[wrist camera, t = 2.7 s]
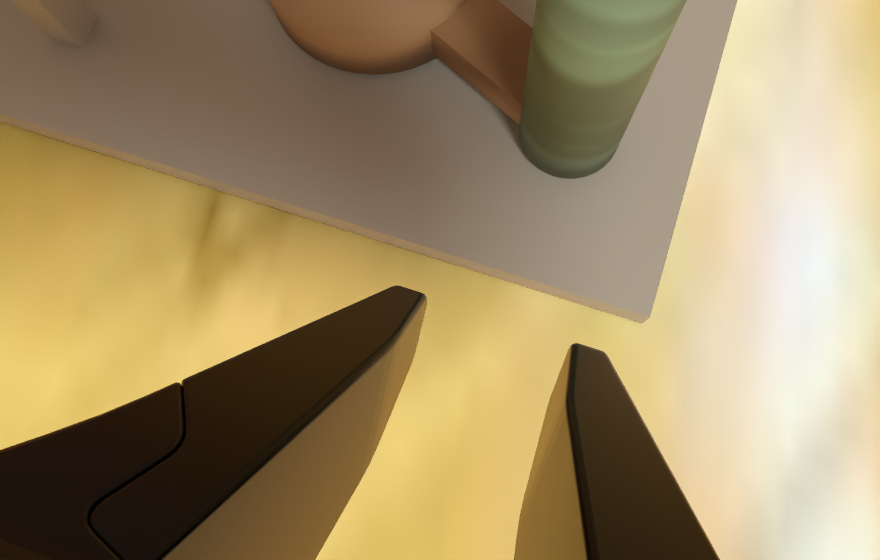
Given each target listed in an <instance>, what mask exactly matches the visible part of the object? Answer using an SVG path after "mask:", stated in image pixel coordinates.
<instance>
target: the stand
mask: <svg viewBox="0 0 880 560" xmlns="http://www.w3.org/2000/svg"><path fill="white" fill-rule="evenodd" d="M498 1H499V2H500V3H501V4H503V5H504V6H505V7H507V8H508V9H509V10H510V11H512V12H513V13H514V14H515V15H517V16H518V17H519V18H520V19H522V20H523V21H524V22H525V23H527V24H528V25H529V26H530V27H532V28H533V23H534V16H535V9H536V2H537V0H498ZM736 3H737V0H687V1H686V3H685V5H684V7H683V9H682V11H681V14H680V16H679V18H678V20H677V22H676V24H675V26H674V29H673V31H672V33H671V35H670V37H669V39H668V41H667V43H666V46H665V48H664V50H663V52H662V54H661V56H660V58H659V60H658V63H657V65H656V67H655V69H654V71H653V73H652V75H651V78H650V80H649V82H648V84H647V86H646V88H645V90H644V92H643V95H642V97H641V99H640V101H639V103H638V105H637V107H636V109H635V112H634V114H633V116H632V118H631V120H630V122H629V124H628V127H627V129H626V131H625V133H624V135H623V137H622V139H621V141H620V144H619V146H618V148H617V150H616V152H615V154H614V156H613V157H612V159H611V160H610V161H609V162H608V163H607V164H606V165H605V166H604V167H603V168H602V169H600V170H599V171H597V172H595V173H594V174H591V175H589V176H586V177H582V178H576V179H565V178H559V177H554V176H552V175H549V174H547V173H545V172H543V171H541V170H540V169H538V168H537V167H536V166H535V165H533V164H532V163H531V162H530V160H529V159H528V158H527V157H526V155H525V154H524V152H523V149H522V147H521V144H520V141H519V131H518V129H519V124H517V123H516V122H515V121H514V120H513V119H511V118H510V117H509V116H508V115H507V114H505V113H504V112H503V111H502V110H501V109H499V108H498V107H497V106H496V105H495V104H493V103H492V102H491V101H490V100H489V99H487V98H486V97H485V96H484V95H483V94H481V93H480V92H479V91H478V90H477V89H475V88H474V87H473V86H472V85H471V84H469V83H468V82H467V81H466V80H465V79H463V78H462V77H461V76H460V75H459V74H457V73H456V72H455V71H454V70H453V69H451V68H450V67H449V66H448V65H447V64H445V63H444V62H443V61H442V60H441V59H440V58H438V57H437V58H436V59H434V60H432V61H430V62H428V63H426V64H423V65H421V66H418V67H416V68H413V69H409V70H406V71H402V72H397V73H390V74H374V75H369V74H359V73H352V72H348V71H343V70H340V69H337V68H334V67H331V66H328V65H326V64H324V63H322V62H320V61H318V60H316V59H315V58H313V57H312V56H310V55H309V54H307V53H306V52H305V51H303V50H302V49H301V48H300V47H299V46H298V45H297V44H296V43H295V42H294V41H293V40H292V39H291V38H290V36H289V35H288V34H287V33H286V31H285V30H284V28H283V26H282V25H281V23H280V21H279V19H278V17H277V14H276V12H275V10H274V7H273V5H272V3H271V1H270V0H0V122H3V123H6V124H9V125H13V126H16V127H19V128H22V129H25V130H29V131H32V132H35V133H38V134H41V135H44V136H48V137H51V138H54V139H57V140H60V141H64V142H67V143H70V144H73V145H76V146H79V147H83V148H86V149H89V150H92V151H95V152H98V153H102V154H105V155H108V156H111V157H114V158H118V159H121V160H124V161H127V162H130V163H133V164H137V165H140V166H143V167H146V168H149V169H153V170H156V171H159V172H162V173H165V174H168V175H172V176H175V177H178V178H181V179H184V180H188V181H191V182H194V183H197V184H200V185H203V186H207V187H210V188H213V189H216V190H219V191H223V192H226V193H229V194H232V195H235V196H238V197H242V198H245V199H248V200H251V201H254V202H257V203H261V204H264V205H267V206H270V207H273V208H277V209H280V210H283V211H286V212H289V213H292V214H296V215H299V216H302V217H305V218H308V219H312V220H315V221H318V222H321V223H324V224H327V225H331V226H334V227H337V228H340V229H343V230H347V231H350V232H353V233H356V234H359V235H362V236H366V237H369V238H372V239H375V240H378V241H381V242H385V243H388V244H391V245H394V246H397V247H401V248H404V249H407V250H410V251H413V252H416V253H420V254H423V255H426V256H429V257H432V258H436V259H439V260H442V261H445V262H448V263H451V264H455V265H458V266H461V267H464V268H467V269H471V270H474V271H477V272H480V273H483V274H486V275H490V276H493V277H496V278H499V279H502V280H505V281H509V282H512V283H515V284H518V285H521V286H525V287H528V288H531V289H534V290H537V291H540V292H544V293H547V294H550V295H553V296H556V297H560V298H563V299H566V300H569V301H572V302H575V303H579V304H582V305H585V306H588V307H591V308H595V309H598V310H601V311H604V312H607V313H610V314H614V315H617V316H620V317H623V318H626V319H629V320H633V321H636V322H639V323H643V322H644V321H645V320H647V319H648V318H649V317H650V315H651V311H652V308H653V304H654V300H655V297H656V293H657V289H658V286H659V282H660V279H661V275H662V271H663V268H664V264H665V260H666V257H667V253H668V249H669V246H670V242H671V239H672V235H673V231H674V228H675V224H676V220H677V217H678V213H679V210H680V206H681V202H682V199H683V195H684V191H685V188H686V184H687V181H688V177H689V173H690V170H691V166H692V162H693V159H694V155H695V151H696V148H697V144H698V141H699V137H700V133H701V130H702V126H703V122H704V119H705V115H706V112H707V108H708V104H709V101H710V97H711V93H712V90H713V86H714V83H715V79H716V75H717V72H718V68H719V64H720V61H721V57H722V53H723V50H724V46H725V43H726V39H727V35H728V32H729V28H730V24H731V21H732V17H733V14H734V10H735V6H736Z"/></svg>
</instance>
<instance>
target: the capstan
mask: <svg viewBox="0 0 880 560" xmlns="http://www.w3.org/2000/svg"><path fill="white" fill-rule="evenodd" d="M270 1H271V3H272V5H273V7H274V10H275V12H276V14H277V17H278V19H279V21H280V23H281V25H282V26H283V28H284V30H285V31H286V33H287V34H288V35H289V36H290V38H291V39H292V40H293V41H294V42H295V43H296V44H297V45H298V46H299V47H300V48H301V49H302V50H303V51H305V52H306V53H307V54H309V55H310V56H312V57H313V58H315V59H316V60H318V61H320V62H322V63H324V64H326V65H328V66H331V67H334V68H337V69H340V70H343V71H348V72H352V73H359V74H369V75H374V74H390V73H397V72H402V71H406V70H409V69H413V68H416V67H418V66H421V65H423V64H426V63H428V62H430V61H432V60H434V59H436V58H437V57H438V58H440V59H441V60H442V61H443V62H444V63H445V64H447V65H448V66H449V67H450V68H451V69H453V70H454V71H455V72H456V73H457V74H459V75H460V76H461V77H462V78H463V79H465V80H466V81H467V82H468V83H469V84H471V85H472V86H473V87H474V88H475V89H477V90H478V91H479V92H480V93H481V94H483V95H484V96H485V97H486V98H487V99H489V100H490V101H491V102H492V103H493V104H495V105H496V106H497V107H498V108H499V109H501V110H502V111H503V112H504V113H505V114H507V115H508V116H509V117H510V118H511V119H513V120H514V121H515V122H516V123H517V124H519V129H518V131H519V141H520V144H521V147H522V149H523V152H524V154H525V155H526V157H527V158H528V159H529V160H530V162H531V163H532V164H533V165H535V166H536V167H537V168H538V169H540V170H541V171H543V172H545V173H547V174H549V175H552V176H554V177H559V178H565V179H576V178H582V177H586V176H589V175H591V174H594V173H595V172H597V171H599V170H600V169H602V168H603V167H604V166H605V165H606V164H607V163H608V162H609V161H610V160H611V159H612V157H613V156H614V154H615V152H616V150H617V148H618V146H619V144H620V141H621V139H622V137H623V135H624V133H625V131H626V129H627V127H628V124H629V122H630V120H631V118H632V116H633V114H634V112H635V109H636V107H637V105H638V103H639V101H640V99H641V97H642V95H643V92H644V90H645V88H646V86H647V84H648V82H649V80H650V78H651V75H652V73H653V71H654V69H655V67H656V65H657V63H658V60H659V58H660V56H661V54H662V52H663V50H664V48H665V46H666V43H667V41H668V39H669V37H670V35H671V33H672V31H673V29H674V26H675V24H676V22H677V20H678V18H679V16H680V14H681V11H682V9H683V7H684V5H685V3H686V1H687V0H537V2H536V9H535V16H534V23H533V28H532V27H530V26H529V25H528V24H527V23H525V22H524V21H523V20H522V19H520V18H519V17H518V16H517V15H515V14H514V13H513V12H512V11H510V10H509V9H508V8H507V7H505V6H504V5H503V4H501V3H500V2H499V1H498V0H270Z"/></svg>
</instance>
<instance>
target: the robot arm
mask: <svg viewBox="0 0 880 560" xmlns="http://www.w3.org/2000/svg"><path fill="white" fill-rule="evenodd" d="M426 304H427V298H426V296H425V295H424V294H423V293H420V292H417V291H414V290H411V289H408V288H404V287H401V286H393V287H390V288H388V289H386V290H384V291H381V292H379V293H377V294H375V295H372V296H370V297H368V298H366V299H363V300H361V301H359V302H357V303H354V304H352V305H350V306H348V307H345V308H343V309H341V310H339V311H336V312H334V313H332V314H330V315H327V316H325V317H323V318H321V319H318V320H316V321H314V322H312V323H309V324H307V325H305V326H303V327H300V328H298V329H296V330H294V331H291V332H289V333H287V334H285V335H282V336H280V337H278V338H276V339H273V340H271V341H269V342H267V343H264V344H262V345H260V346H258V347H255V348H253V349H251V350H249V351H246V352H244V353H242V354H240V355H237V356H235V357H233V358H231V359H228V360H226V361H224V362H222V363H219V364H217V365H215V366H213V367H210V368H208V369H206V370H204V371H201V372H199V373H197V374H195V375H192V376H190V377H188V378H186V379H184V380H183V381H182V383H181V384H180V383H174V384H171V385H169V386H167V387H165V388H162V389H160V390H158V391H156V392H153V393H151V394H149V395H147V396H144V397H142V398H139V399H137V400H135V401H132V402H130V403H127V404H125V405H122V406H120V407H118V408H115V409H113V410H110V411H108V412H106V413H103V414H101V415H98V416H95V417H93V418H90V419H87V420H84V421H82V422H79V423H76V424H73V425H71V426H68V427H65V428H62V429H60V430H57V431H54V432H51V433H49V434H46V435H43V436H40V437H37V438H34V439H31V440H28V441H25V442H23V443H20V444H17V445H14V446H11V447H8V448H5V449H2V450H0V560H315V559H316V557H317V555H318V554H319V552H320V550H321V548H322V547H323V545H324V543H325V542H326V540H327V538H328V536H329V535H330V533H331V531H332V529H333V528H334V526H335V524H336V522H337V521H338V519H339V517H340V515H341V514H342V512H343V510H344V509H345V507H346V505H347V503H348V502H349V500H350V498H351V496H352V495H353V493H354V491H355V489H356V488H357V486H358V484H359V482H360V481H361V479H362V477H363V475H364V473H365V471H366V469H367V468H368V466H369V464H370V462H371V459H372V457H373V455H374V453H375V451H376V448H377V446H378V444H379V441H380V439H381V436H382V434H383V432H384V429H385V427H386V424H387V422H388V419H389V417H390V415H391V412H392V410H393V407H394V405H395V402H396V400H397V398H398V395H399V393H400V390H401V388H402V386H403V383H404V381H405V378H406V376H407V373H408V371H409V369H410V366H411V364H412V361H413V358H414V355H415V351H416V347H417V343H418V339H419V335H420V330H421V326H422V322H423V318H424V313H425V309H426ZM514 560H720V559H719V557H718V555H717V553H716V552H715V550H714V548H713V546H712V544H711V543H710V541H709V539H708V537H707V535H706V533H705V532H704V530H703V528H702V526H701V524H700V523H699V521H698V519H697V517H696V515H695V513H694V512H693V510H692V508H691V506H690V504H689V503H688V501H687V499H686V497H685V495H684V494H683V492H682V490H681V488H680V486H679V484H678V483H677V481H676V479H675V477H674V475H673V474H672V472H671V470H670V468H669V466H668V465H667V463H666V461H665V459H664V457H663V455H662V454H661V452H660V450H659V448H658V446H657V445H656V443H655V441H654V439H653V437H652V435H651V434H650V432H649V430H648V428H647V426H646V425H645V423H644V421H643V419H642V417H641V416H640V414H639V412H638V410H637V408H636V406H635V405H634V403H633V401H632V399H631V397H630V396H629V394H628V392H627V390H626V388H625V386H624V385H623V383H622V381H621V379H620V377H619V376H618V374H617V372H616V370H615V368H614V367H613V365H612V363H611V361H610V359H609V357H608V356H607V355H606V353H604V352H603V351H600V350H597V349H594V348H591V347H588V346H584V345H581V344H578V343H575V344H572V345H571V346H570V348H569V350H568V352H567V355H566V358H565V360H564V363H563V366H562V368H561V371H560V373H559V376H558V379H557V381H556V384H555V387H554V389H553V392H552V395H551V398H550V401H549V404H548V407H547V411H546V414H545V418H544V422H543V426H542V430H541V434H540V438H539V441H538V445H537V449H536V453H535V457H534V461H533V465H532V468H531V472H530V476H529V480H528V484H527V488H526V492H525V495H524V500H523V504H522V509H521V513H520V518H519V525H518V531H517V539H516V547H515V555H514Z"/></svg>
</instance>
